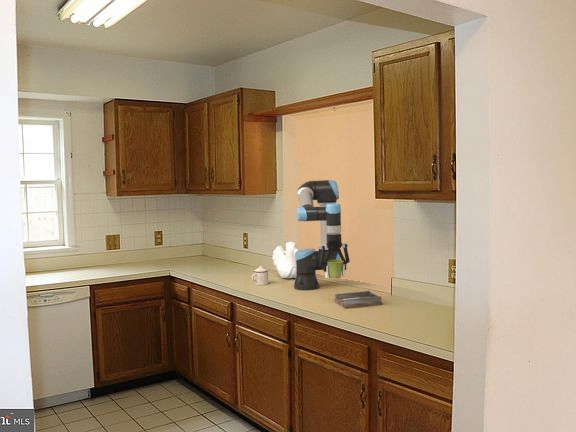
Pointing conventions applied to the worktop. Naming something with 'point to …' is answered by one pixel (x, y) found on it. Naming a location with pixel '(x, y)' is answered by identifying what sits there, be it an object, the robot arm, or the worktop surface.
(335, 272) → the plant pot
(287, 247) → the decorative rooster
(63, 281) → the worktop surface
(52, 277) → the worktop surface
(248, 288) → the worktop surface
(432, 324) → the worktop surface
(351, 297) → the dock
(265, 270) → the teacup with lid
